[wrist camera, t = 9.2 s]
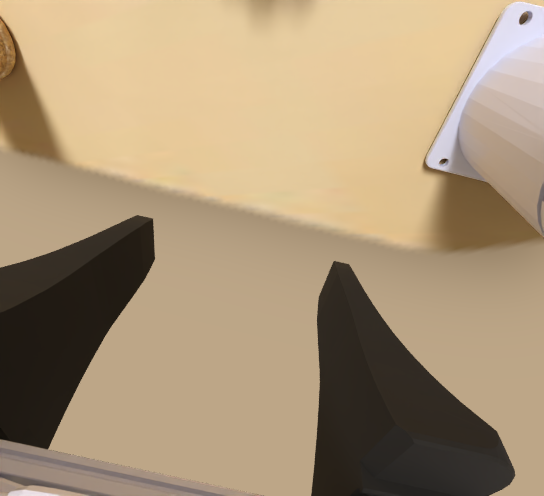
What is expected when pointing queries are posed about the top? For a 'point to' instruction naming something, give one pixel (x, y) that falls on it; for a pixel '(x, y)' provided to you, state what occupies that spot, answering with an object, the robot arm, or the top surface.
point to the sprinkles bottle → (6, 52)
